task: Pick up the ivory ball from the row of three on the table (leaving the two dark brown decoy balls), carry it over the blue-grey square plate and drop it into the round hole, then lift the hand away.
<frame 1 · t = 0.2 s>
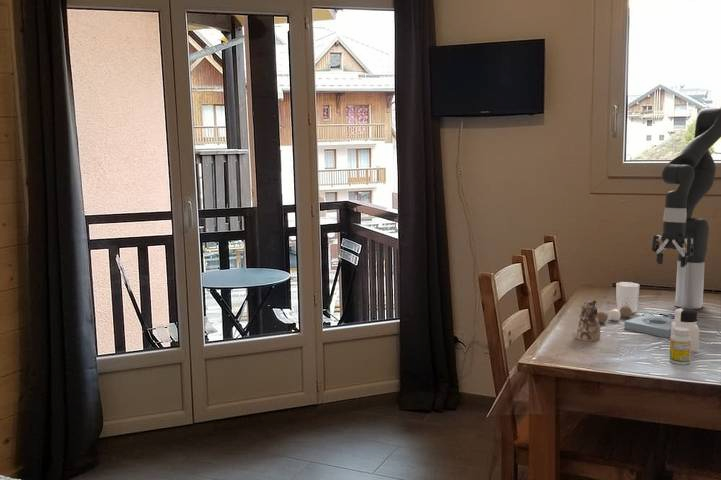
hand: (671, 265, 260), 17 cm above the table, tool pointing down, fingers open, 8 cm apart
ball: (614, 314, 250), point 2 cm above the table
medicine bottle: (683, 348, 217), on the table
blue-grey square plate: (657, 329, 239), on the table
decoy b: (601, 317, 247), point 2 cm above the table
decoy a: (625, 311, 255), point 2 cm above the table
figurine: (588, 338, 229), on the table
supplement bottle: (679, 362, 204), on the table
white cup: (626, 311, 265), on the table
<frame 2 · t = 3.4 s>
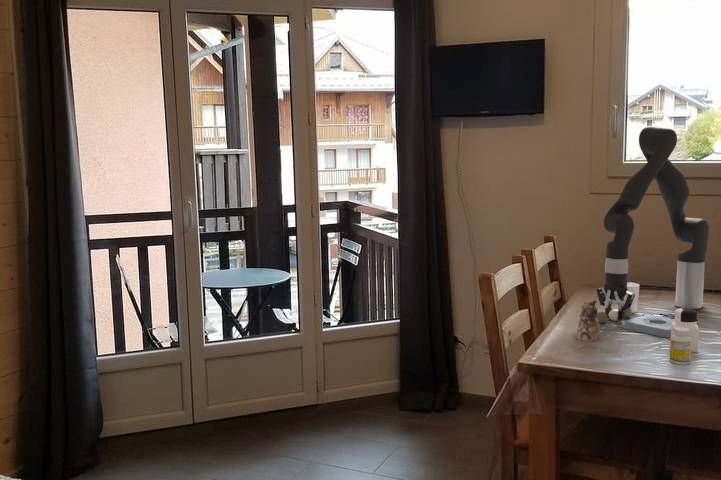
hand: (614, 319, 251), 0 cm above the table, tool pointing down, fingers closed on ball, 4 cm apart
ball: (614, 315, 250), point 2 cm above the table, touching gripper
everything else where it was.
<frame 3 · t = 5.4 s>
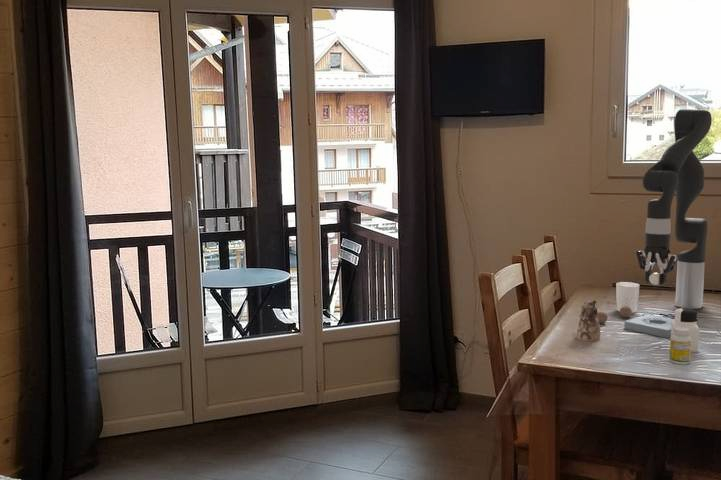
hand: (655, 283, 238), 15 cm above the table, tool pointing down, fingers closed on ball, 4 cm apart
ball: (655, 278, 238), point 17 cm above the table, touching gripper
everything else where it was.
when the fingers open (4 cm above the table, at t = 7.6 s): ball drops 4 cm, point 2 cm above the table.
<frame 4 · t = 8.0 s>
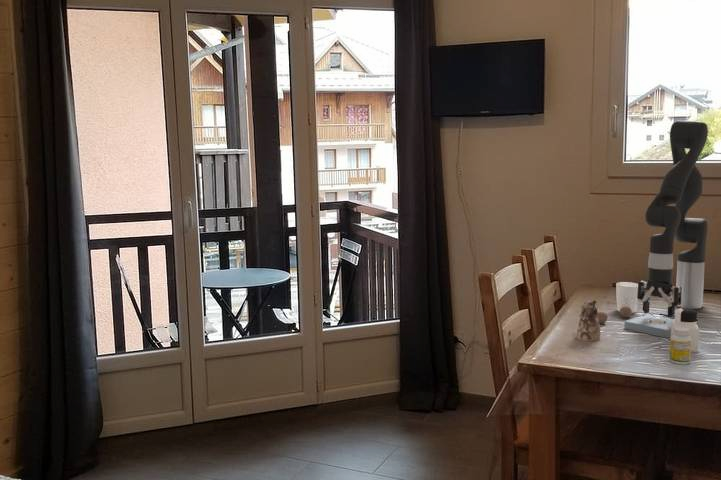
hand: (658, 314, 238), 5 cm above the table, tool pointing down, fingers open, 8 cm apart
ball: (657, 323, 239), point 2 cm above the table
everything else where it was.
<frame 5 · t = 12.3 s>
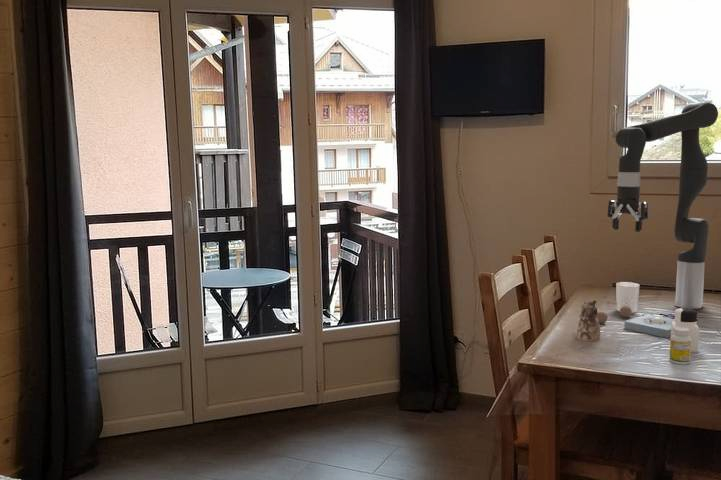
hand: (626, 230, 257), 30 cm above the table, tool pointing down, fingers open, 8 cm apart
nothing on the table moved.
at the end: ball 0.1 cm off-centre in the blue-grey square plate, point 2.0 cm above the blue-grey square plate's base; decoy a moved 0.0 cm from its start; decoy b moved 0.0 cm from its start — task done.
